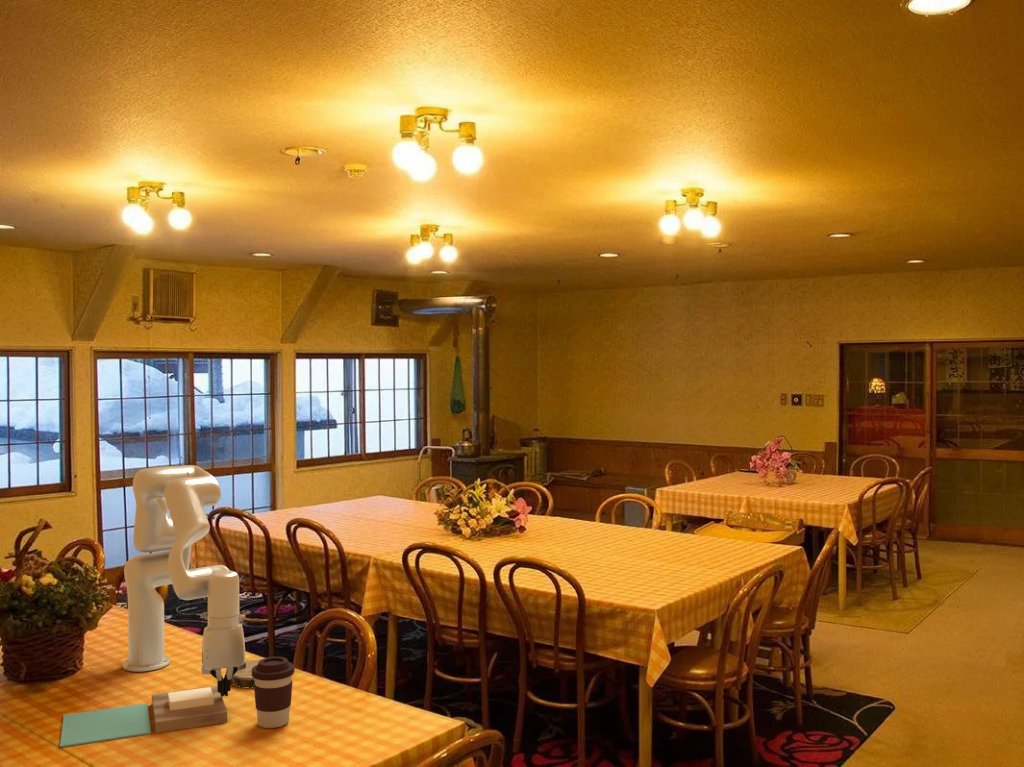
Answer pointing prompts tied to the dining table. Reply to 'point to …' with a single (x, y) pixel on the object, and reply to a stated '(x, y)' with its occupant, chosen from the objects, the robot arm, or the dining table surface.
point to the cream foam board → (190, 698)
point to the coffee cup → (273, 691)
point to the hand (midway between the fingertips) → (223, 694)
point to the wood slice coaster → (245, 675)
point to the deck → (187, 713)
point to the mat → (105, 725)
